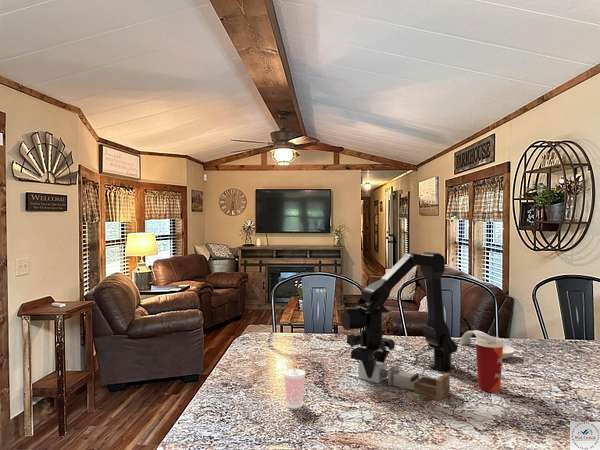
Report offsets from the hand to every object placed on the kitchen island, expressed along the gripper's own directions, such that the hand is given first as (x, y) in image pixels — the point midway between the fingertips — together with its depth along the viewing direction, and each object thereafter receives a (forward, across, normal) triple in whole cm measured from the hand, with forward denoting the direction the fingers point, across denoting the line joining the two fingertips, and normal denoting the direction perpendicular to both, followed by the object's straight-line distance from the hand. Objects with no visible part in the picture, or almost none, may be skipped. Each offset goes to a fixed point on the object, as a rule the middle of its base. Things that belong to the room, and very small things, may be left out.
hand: (373, 375), depth 143 cm
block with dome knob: (+1, 0, 0) cm, 1 cm away
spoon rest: (+2, -51, +20) cm, 55 cm away
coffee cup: (+1, -14, +32) cm, 34 cm away
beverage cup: (+1, +31, -8) cm, 32 cm away
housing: (+1, +1, +19) cm, 19 cm away
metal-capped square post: (+1, +1, +11) cm, 11 cm away
